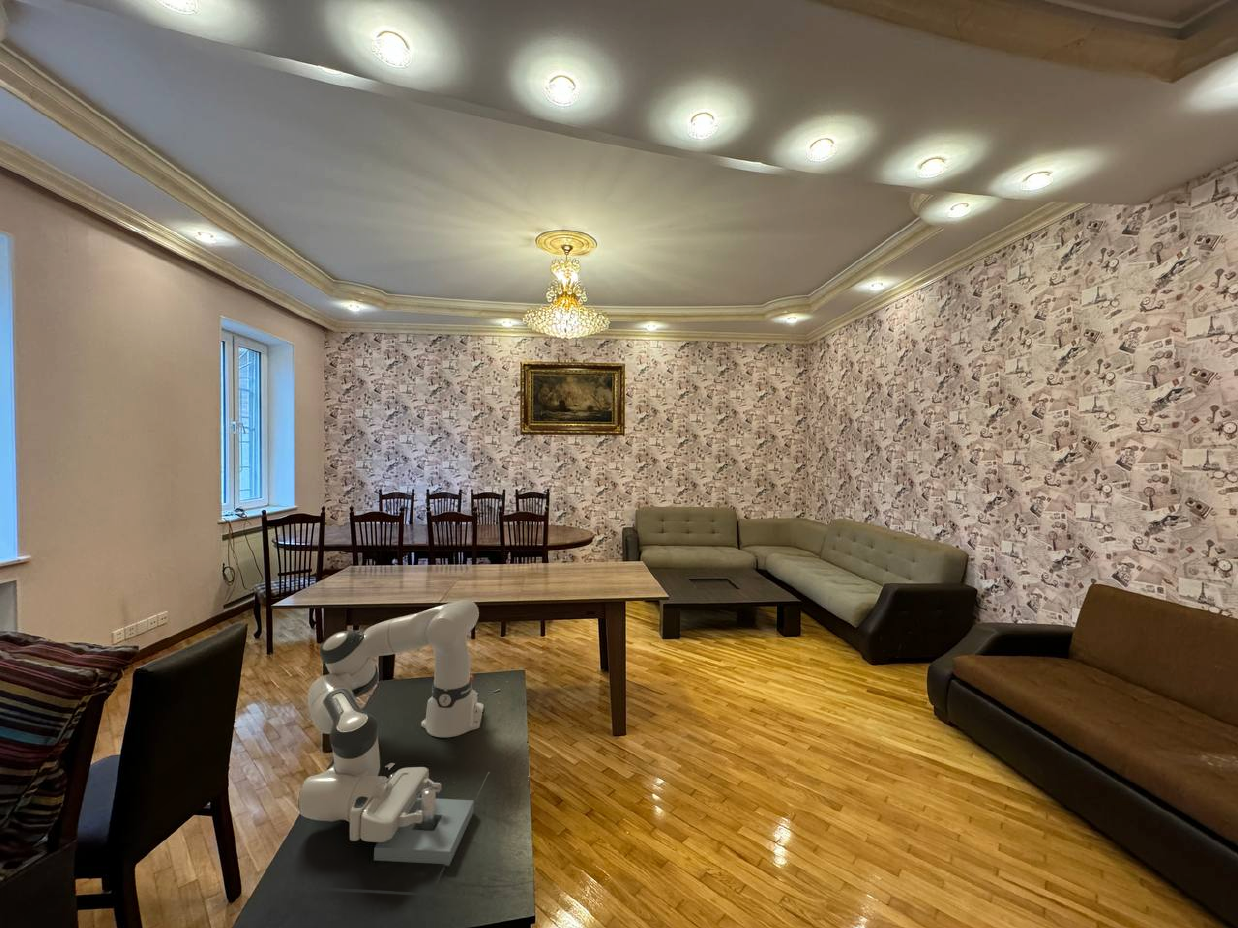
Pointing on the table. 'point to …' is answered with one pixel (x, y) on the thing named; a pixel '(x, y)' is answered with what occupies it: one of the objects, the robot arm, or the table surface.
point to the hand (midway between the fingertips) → (432, 802)
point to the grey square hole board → (429, 835)
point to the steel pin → (428, 808)
